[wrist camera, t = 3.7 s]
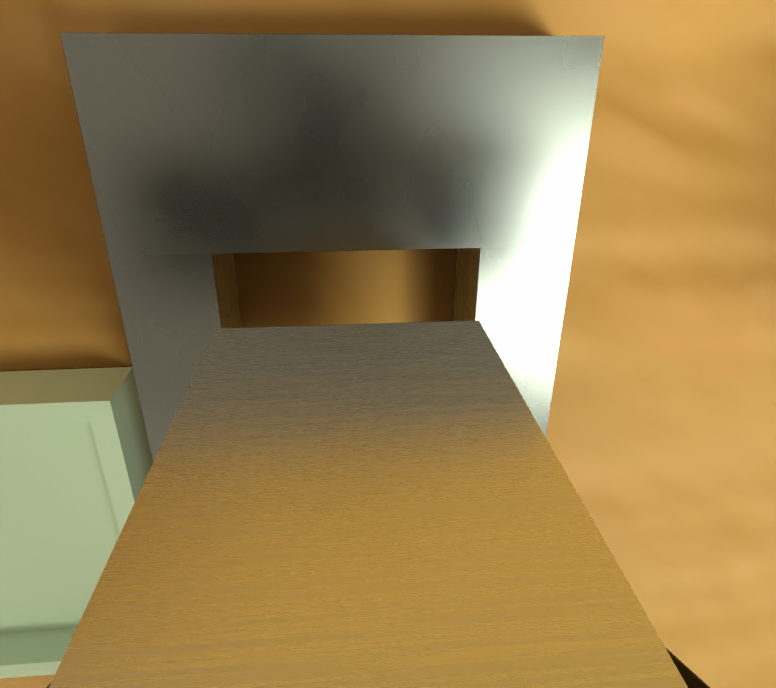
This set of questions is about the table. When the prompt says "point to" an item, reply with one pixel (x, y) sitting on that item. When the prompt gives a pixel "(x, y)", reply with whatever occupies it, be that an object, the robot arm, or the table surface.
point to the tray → (61, 501)
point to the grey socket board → (333, 176)
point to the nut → (360, 531)
